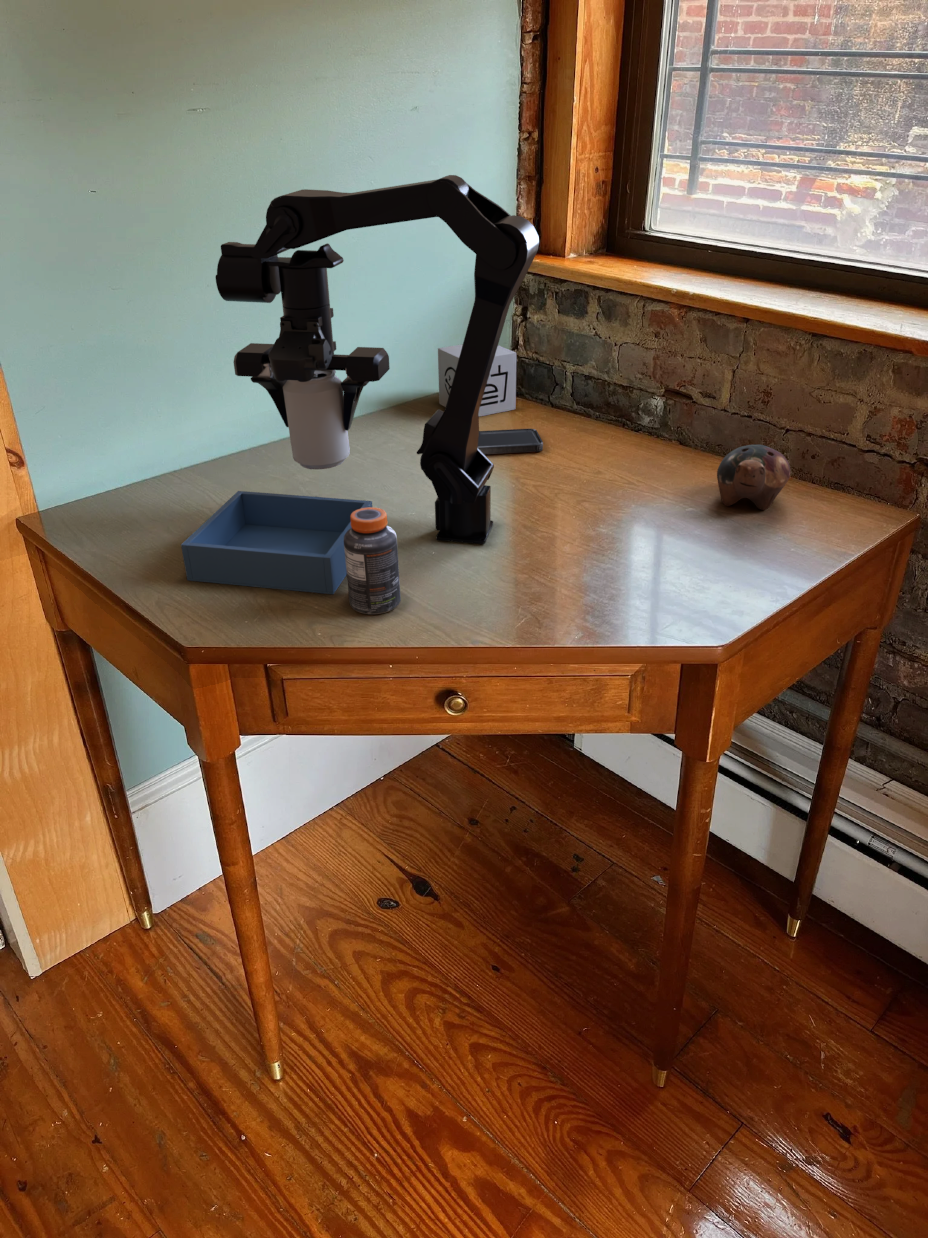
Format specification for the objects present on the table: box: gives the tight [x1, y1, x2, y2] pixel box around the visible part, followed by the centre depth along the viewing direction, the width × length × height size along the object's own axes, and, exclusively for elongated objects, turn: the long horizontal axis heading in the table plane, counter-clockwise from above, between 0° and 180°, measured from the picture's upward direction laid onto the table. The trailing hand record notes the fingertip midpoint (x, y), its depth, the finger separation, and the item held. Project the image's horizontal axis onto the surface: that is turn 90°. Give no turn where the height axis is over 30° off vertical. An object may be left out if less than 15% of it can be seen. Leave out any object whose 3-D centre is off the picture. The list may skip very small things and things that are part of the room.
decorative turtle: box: [716, 444, 791, 511], centre depth 132 cm, size 10×15×8 cm, turn 163°
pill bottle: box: [344, 506, 402, 615], centre depth 107 cm, size 6×6×11 cm
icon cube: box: [437, 343, 517, 417], centre depth 169 cm, size 10×10×10 cm
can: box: [283, 370, 351, 470], centre depth 123 cm, size 8×8×12 cm
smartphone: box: [477, 428, 544, 455], centre depth 154 cm, size 8×1×15 cm
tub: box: [180, 490, 373, 595], centre depth 120 cm, size 19×17×5 cm
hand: (318, 427), depth 124 cm, fingers closed on can, 8 cm apart
